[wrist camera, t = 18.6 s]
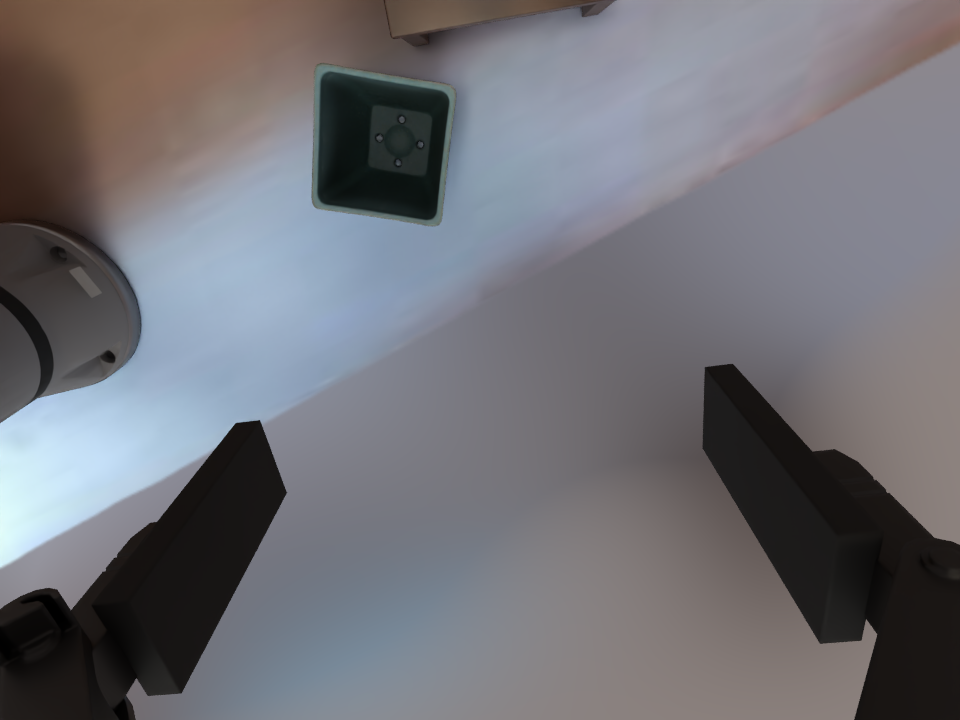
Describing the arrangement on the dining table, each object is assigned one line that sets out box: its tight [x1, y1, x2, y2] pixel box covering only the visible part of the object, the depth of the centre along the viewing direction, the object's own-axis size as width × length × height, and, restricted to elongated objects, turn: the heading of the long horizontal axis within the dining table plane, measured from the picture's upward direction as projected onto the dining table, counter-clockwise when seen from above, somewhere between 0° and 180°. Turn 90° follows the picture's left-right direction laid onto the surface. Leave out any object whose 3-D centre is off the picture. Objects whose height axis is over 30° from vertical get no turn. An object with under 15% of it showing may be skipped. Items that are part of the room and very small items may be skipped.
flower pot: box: [312, 63, 456, 226], centre depth 39 cm, size 9×9×9 cm
